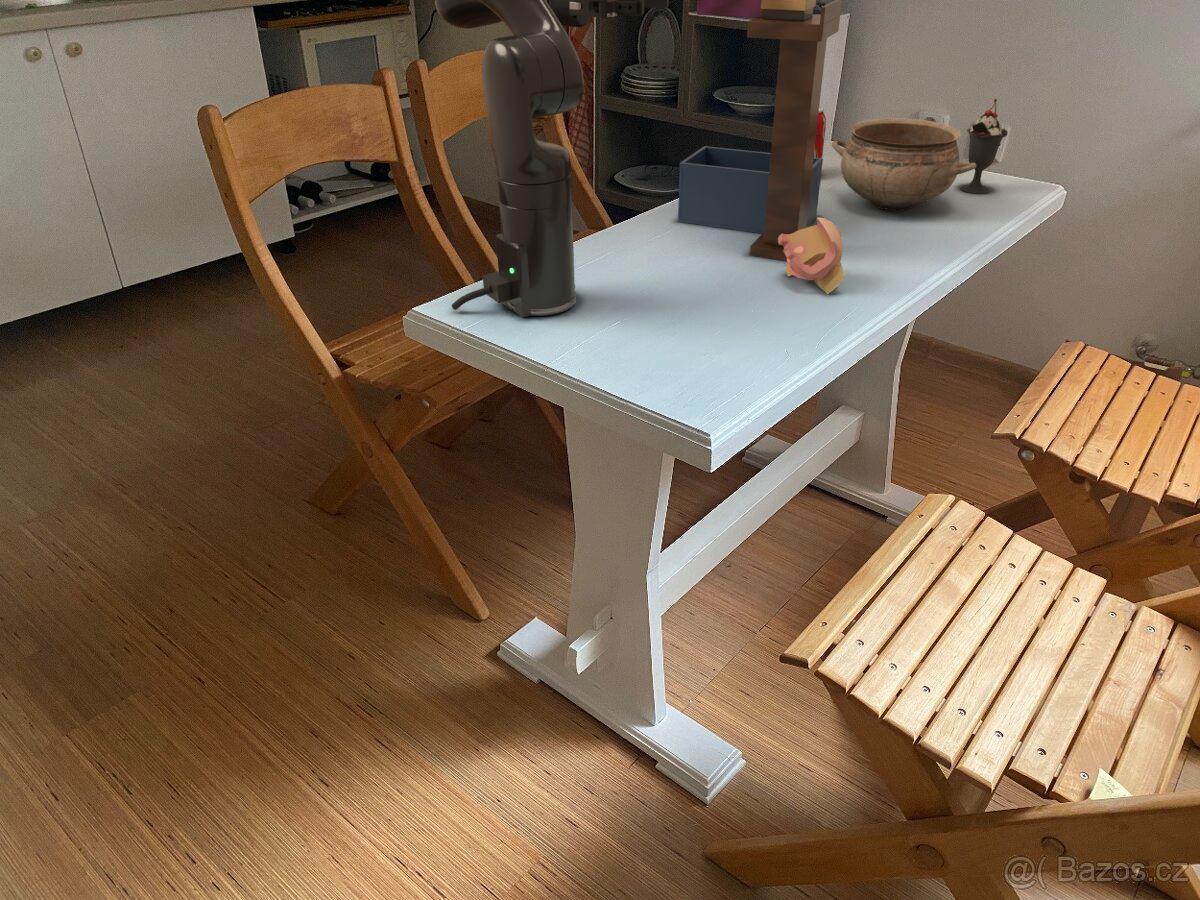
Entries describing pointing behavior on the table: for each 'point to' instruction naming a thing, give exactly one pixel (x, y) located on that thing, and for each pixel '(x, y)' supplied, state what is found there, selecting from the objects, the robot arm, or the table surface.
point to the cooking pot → (900, 161)
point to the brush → (758, 8)
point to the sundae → (983, 147)
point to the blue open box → (732, 189)
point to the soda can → (820, 134)
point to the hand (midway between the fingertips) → (655, 3)
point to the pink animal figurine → (815, 254)
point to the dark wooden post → (793, 121)
